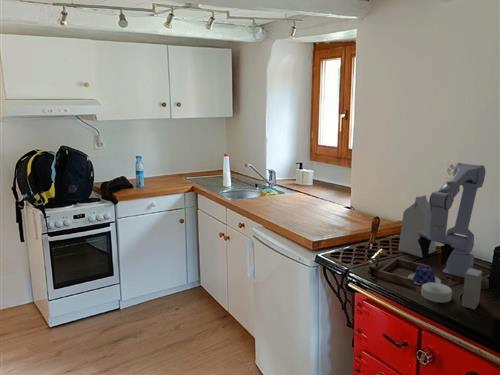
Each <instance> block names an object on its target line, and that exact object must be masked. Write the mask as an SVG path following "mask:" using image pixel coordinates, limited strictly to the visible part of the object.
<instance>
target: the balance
mask: <svg viewBox="0 0 500 375" xmlns="http://www.w3.org/2000/svg"><path fill="white" fill-rule="evenodd" d="M380 255H387V251H386V250H384V249H383V248H380V249H379V250H376V252H375V254H374V255H373V256H371V259H368V260H367V261H366V263H367V264H369V265H368V268H370V269H373V270H376V271H378V270H379V269H381V268H382V267H384V266H385V264H384V263H382V262H379V256H380Z"/></svg>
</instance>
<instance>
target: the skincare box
mask: <svg viewBox="0 0 500 375" xmlns="http://www.w3.org/2000/svg"><path fill="white" fill-rule="evenodd" d="M482 278H483V271H482V270H480V269H476V268H473V269H472V268H469V269H468V271H467V272H466V273H465V278H464V282H463V290H462V291H463V292H462V299H461V300H462V303H461V306H462V307H463V308H469V309H471V310H476V308H477V307H478V305H479V304H480V297H481V288H482Z"/></svg>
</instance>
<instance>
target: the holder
mask: <svg viewBox="0 0 500 375" xmlns="http://www.w3.org/2000/svg"><path fill="white" fill-rule="evenodd" d="M396 266H399V267H403V268H406V269H411V270H414V271H416V269H417V267H419V266H427V267H430V268H431V266H430V265H427V264H424V263H419V262H414V261H410V260H407V259H403V258H398V257H395V258H394V259H392V260H390V261H389V262H388V263H387V264H384V266H383V267H381V268H380V269H379V270H377V278H379V279H382V280H385V281H390V282H393V283H396V284H399V285H400V284H401V285H404V286H408V287H410V288H414V287H415V283H414V279H411V278H408V276H407V277H406V276H403V275H400V274H396V273H391V271H392V269H394V268H396Z"/></svg>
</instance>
